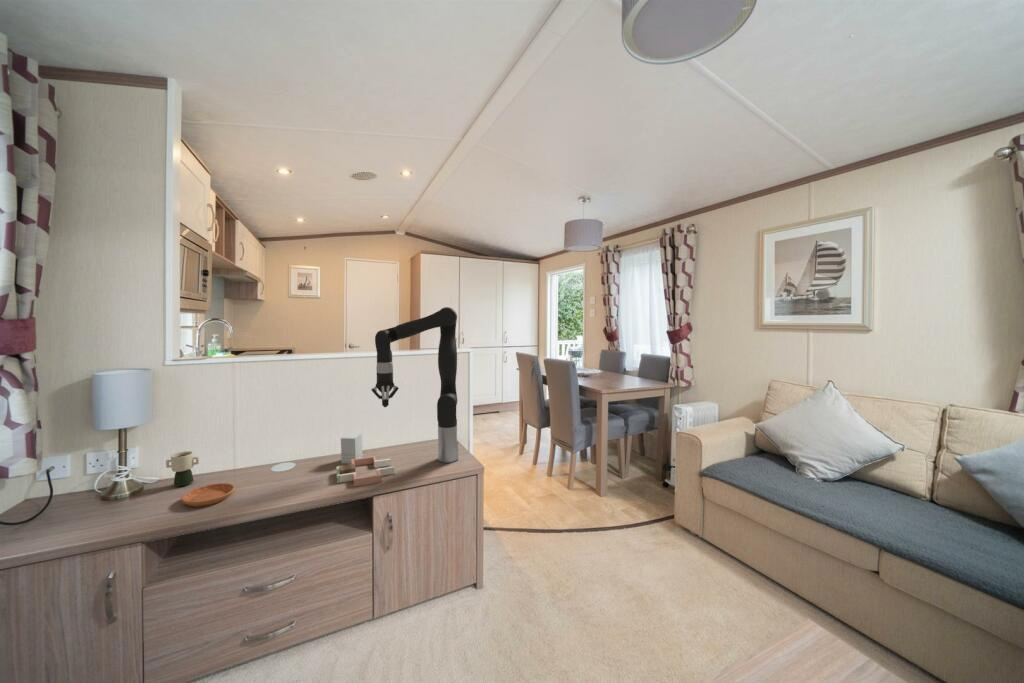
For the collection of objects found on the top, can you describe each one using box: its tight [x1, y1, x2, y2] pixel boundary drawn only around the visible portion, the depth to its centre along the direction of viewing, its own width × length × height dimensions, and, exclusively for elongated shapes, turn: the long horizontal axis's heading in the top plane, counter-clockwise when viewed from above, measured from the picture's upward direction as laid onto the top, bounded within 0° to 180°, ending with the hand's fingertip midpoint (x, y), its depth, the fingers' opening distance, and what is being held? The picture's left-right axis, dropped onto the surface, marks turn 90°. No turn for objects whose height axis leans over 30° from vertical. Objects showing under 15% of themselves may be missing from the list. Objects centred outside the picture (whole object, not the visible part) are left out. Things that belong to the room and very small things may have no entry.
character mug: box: [165, 450, 200, 487], centre depth 159 cm, size 11×7×13 cm, turn 114°
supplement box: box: [340, 433, 364, 465], centre depth 186 cm, size 7×7×13 cm
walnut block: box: [339, 464, 357, 475], centre depth 169 cm, size 6×6×4 cm
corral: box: [336, 455, 395, 487], centre depth 173 cm, size 24×24×3 cm
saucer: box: [181, 482, 235, 508], centre depth 148 cm, size 16×16×3 cm
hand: (385, 406), depth 185 cm, fingers closed
